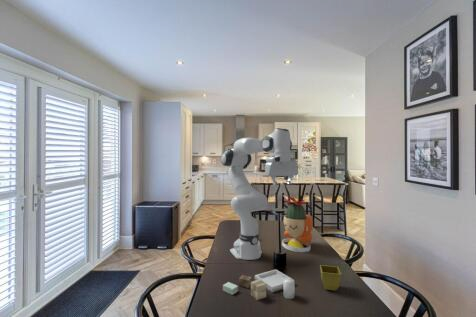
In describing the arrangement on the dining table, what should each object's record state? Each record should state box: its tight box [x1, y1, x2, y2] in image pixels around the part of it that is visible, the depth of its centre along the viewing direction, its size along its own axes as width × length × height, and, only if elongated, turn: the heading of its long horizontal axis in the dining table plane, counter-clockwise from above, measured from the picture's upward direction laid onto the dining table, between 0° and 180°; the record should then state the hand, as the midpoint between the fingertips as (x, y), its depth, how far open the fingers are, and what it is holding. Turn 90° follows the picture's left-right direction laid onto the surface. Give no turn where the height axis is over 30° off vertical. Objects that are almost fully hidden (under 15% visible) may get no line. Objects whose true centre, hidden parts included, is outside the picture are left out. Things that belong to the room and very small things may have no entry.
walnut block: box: [238, 274, 252, 289], centre depth 123 cm, size 5×4×4 cm
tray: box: [254, 269, 291, 293], centre depth 126 cm, size 14×14×2 cm
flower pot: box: [319, 264, 342, 292], centre depth 121 cm, size 9×9×9 cm
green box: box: [222, 281, 239, 296], centre depth 117 cm, size 6×4×3 cm, turn 51°
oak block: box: [250, 279, 267, 301], centre depth 114 cm, size 5×5×6 cm
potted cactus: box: [281, 196, 314, 253], centre depth 177 cm, size 22×22×35 cm
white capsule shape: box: [282, 277, 296, 300], centre depth 114 cm, size 5×5×7 cm
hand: (281, 184), depth 133 cm, fingers open, 8 cm apart
